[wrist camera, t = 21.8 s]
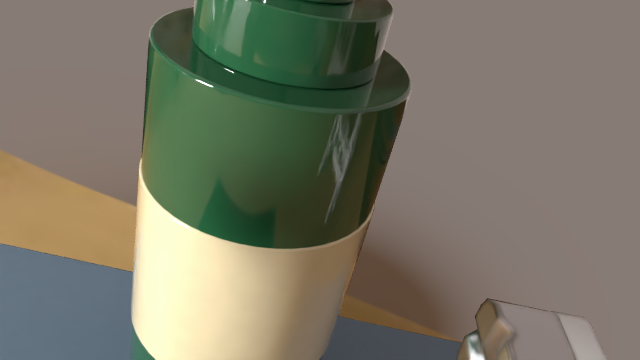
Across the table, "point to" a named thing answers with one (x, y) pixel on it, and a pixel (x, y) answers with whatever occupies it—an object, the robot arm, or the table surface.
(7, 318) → the blue-grey rectangular block
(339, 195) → the bottle
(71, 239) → the table surface
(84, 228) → the table surface
